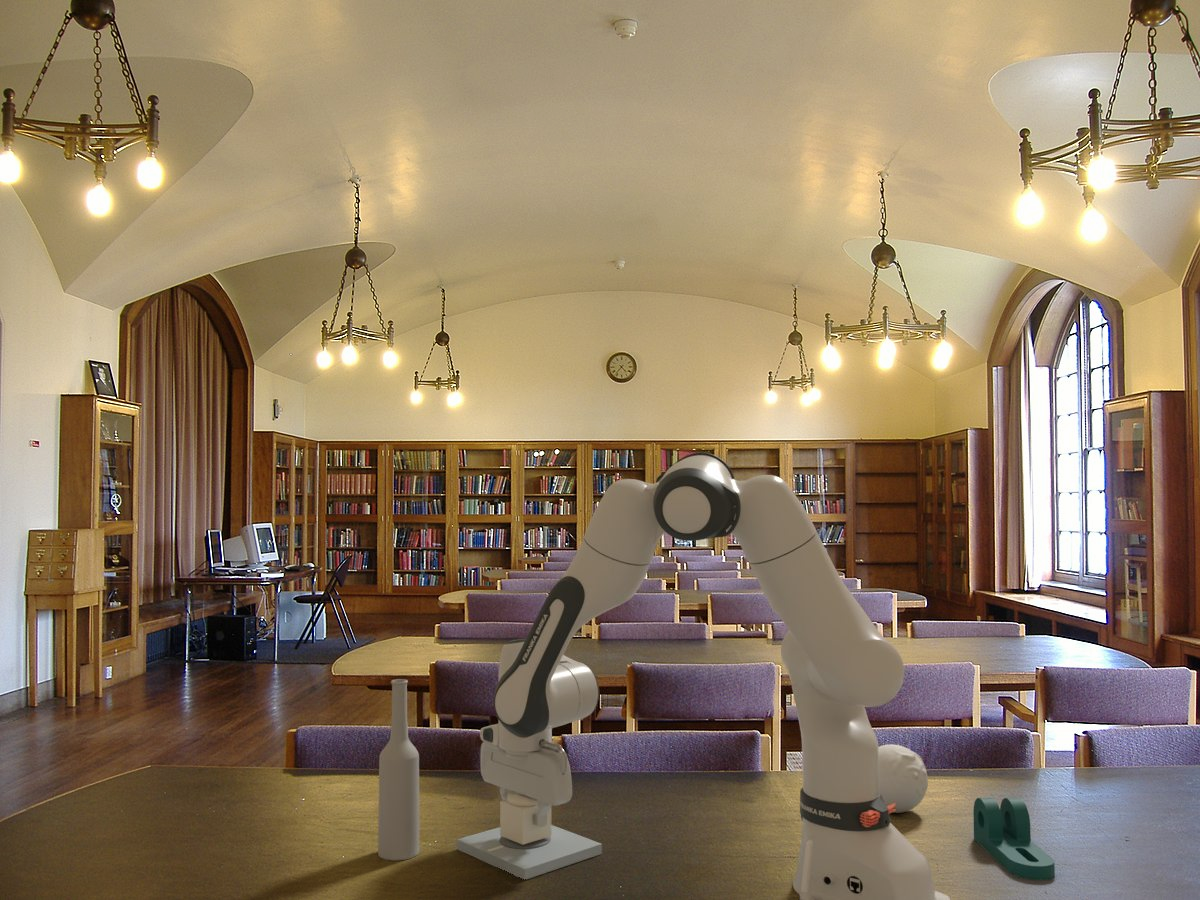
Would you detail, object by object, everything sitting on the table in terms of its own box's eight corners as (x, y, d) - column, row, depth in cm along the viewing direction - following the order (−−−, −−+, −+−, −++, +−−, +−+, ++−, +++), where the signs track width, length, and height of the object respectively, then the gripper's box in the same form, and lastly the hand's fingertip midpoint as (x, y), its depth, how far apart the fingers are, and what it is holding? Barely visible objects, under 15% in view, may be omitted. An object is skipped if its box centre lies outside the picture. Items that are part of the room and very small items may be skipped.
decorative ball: (903, 826, 174) (902, 757, 175) (847, 809, 183) (846, 744, 184) (941, 812, 182) (940, 746, 182) (885, 797, 191) (884, 734, 192)
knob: (522, 844, 159) (522, 799, 160) (500, 835, 164) (500, 791, 164) (551, 835, 163) (551, 792, 164) (528, 827, 168) (528, 784, 168)
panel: (601, 853, 161) (601, 812, 162) (524, 880, 151) (524, 835, 151) (532, 826, 175) (532, 788, 175) (456, 849, 164) (457, 808, 164)
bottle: (370, 853, 162) (371, 680, 163) (404, 843, 167) (405, 675, 168) (392, 864, 157) (393, 686, 159) (427, 853, 162) (427, 680, 163)
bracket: (973, 839, 168) (973, 792, 168) (1013, 839, 168) (1012, 792, 168) (1017, 881, 150) (1016, 828, 150) (1062, 881, 150) (1061, 828, 150)
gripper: (581, 743, 159) (581, 830, 158) (503, 722, 174) (503, 802, 173) (550, 750, 154) (551, 840, 154) (474, 728, 169) (474, 810, 169)
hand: (525, 819), depth 164 cm, fingers open, 6 cm apart
